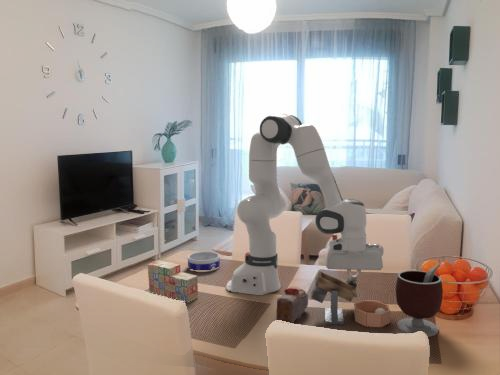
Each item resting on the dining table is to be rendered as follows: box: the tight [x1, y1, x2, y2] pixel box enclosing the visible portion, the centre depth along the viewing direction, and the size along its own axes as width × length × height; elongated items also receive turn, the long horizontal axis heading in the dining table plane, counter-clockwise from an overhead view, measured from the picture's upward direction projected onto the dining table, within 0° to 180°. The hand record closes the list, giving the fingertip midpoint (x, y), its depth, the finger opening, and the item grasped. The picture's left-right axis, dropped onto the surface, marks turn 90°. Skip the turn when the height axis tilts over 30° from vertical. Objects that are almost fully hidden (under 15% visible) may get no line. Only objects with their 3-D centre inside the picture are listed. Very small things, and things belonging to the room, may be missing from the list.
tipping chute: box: [310, 270, 358, 304], centre depth 149 cm, size 15×18×8 cm
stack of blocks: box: [147, 260, 199, 303], centre depth 167 cm, size 21×6×12 cm, turn 55°
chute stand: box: [324, 289, 345, 326], centre depth 144 cm, size 6×11×11 cm, turn 170°
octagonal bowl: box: [353, 299, 391, 328], centre depth 142 cm, size 11×11×4 cm
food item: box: [275, 286, 309, 324], centre depth 146 cm, size 14×8×10 cm, turn 154°
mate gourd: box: [395, 263, 444, 338], centre depth 135 cm, size 16×14×20 cm
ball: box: [375, 308, 385, 313], centre depth 142 cm, size 4×4×4 cm
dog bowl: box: [187, 251, 221, 270], centre depth 202 cm, size 15×15×6 cm
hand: (353, 280), depth 154 cm, fingers closed
